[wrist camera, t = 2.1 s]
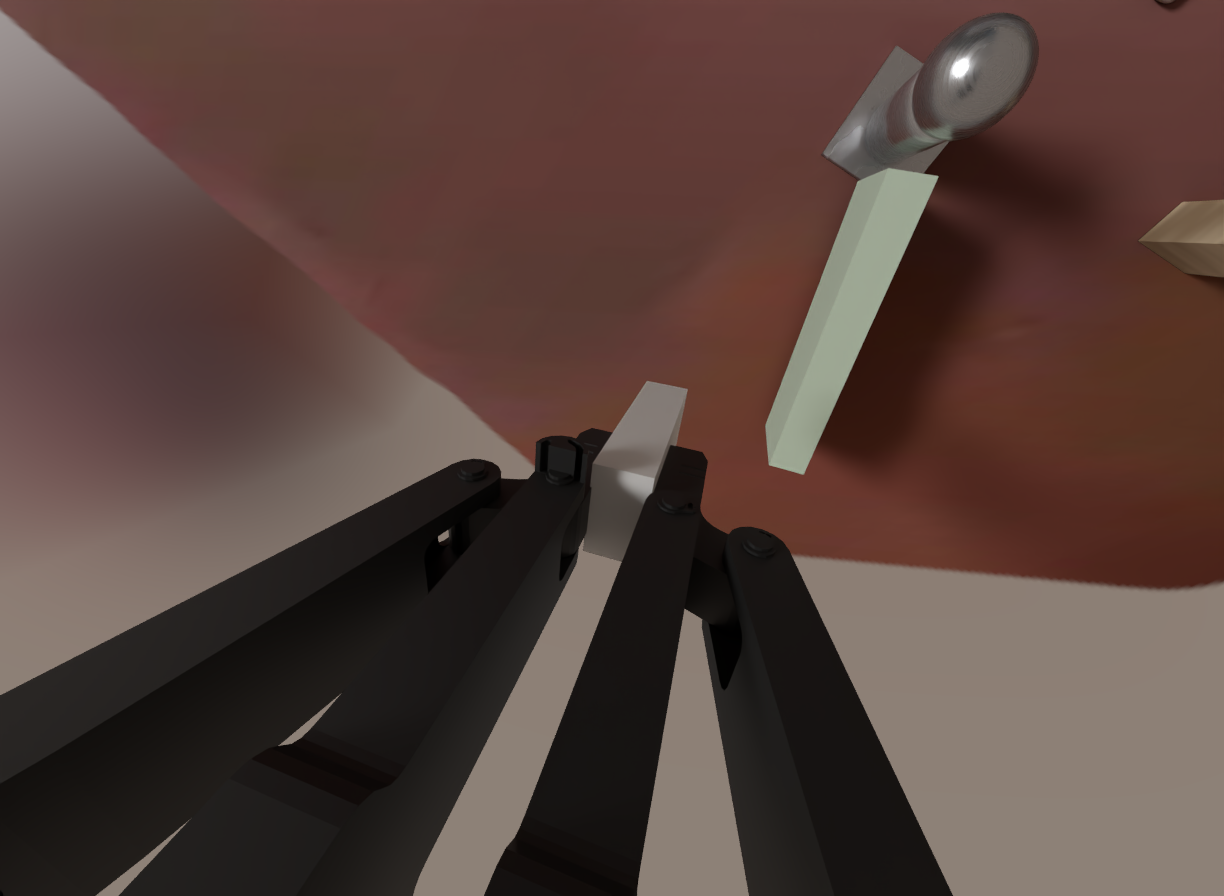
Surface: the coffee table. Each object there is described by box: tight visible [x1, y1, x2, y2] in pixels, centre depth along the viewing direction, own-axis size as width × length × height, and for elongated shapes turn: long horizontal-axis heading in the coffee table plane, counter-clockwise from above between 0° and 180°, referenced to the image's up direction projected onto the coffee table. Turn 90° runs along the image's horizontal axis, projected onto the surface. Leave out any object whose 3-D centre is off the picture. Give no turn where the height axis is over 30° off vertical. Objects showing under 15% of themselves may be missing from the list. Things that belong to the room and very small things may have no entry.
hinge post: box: [821, 13, 1039, 181], centre depth 19 cm, size 5×5×11 cm
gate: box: [765, 168, 939, 474], centre depth 25 cm, size 15×2×6 cm, turn 170°
